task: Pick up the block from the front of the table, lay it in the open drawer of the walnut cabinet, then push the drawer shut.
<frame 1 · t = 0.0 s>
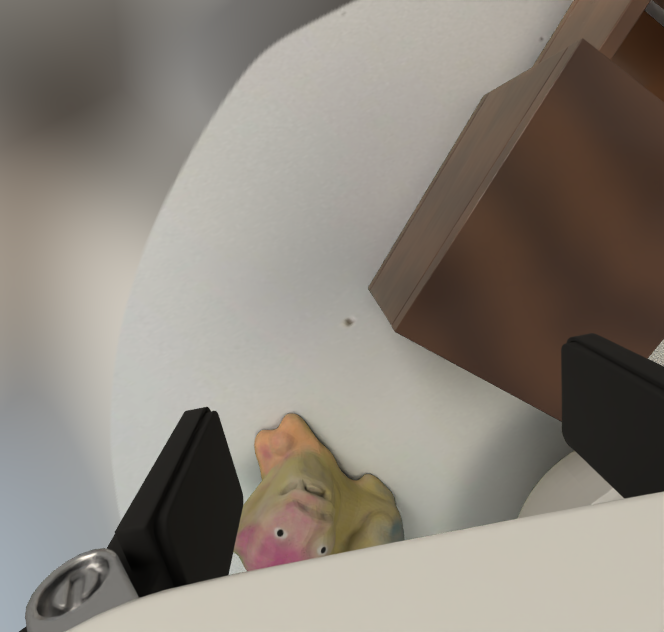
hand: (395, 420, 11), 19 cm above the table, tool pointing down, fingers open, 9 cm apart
bowl: (601, 499, 36), on the table
sculpture: (321, 481, 34), on the table
cabinet: (494, 242, 29), on the table
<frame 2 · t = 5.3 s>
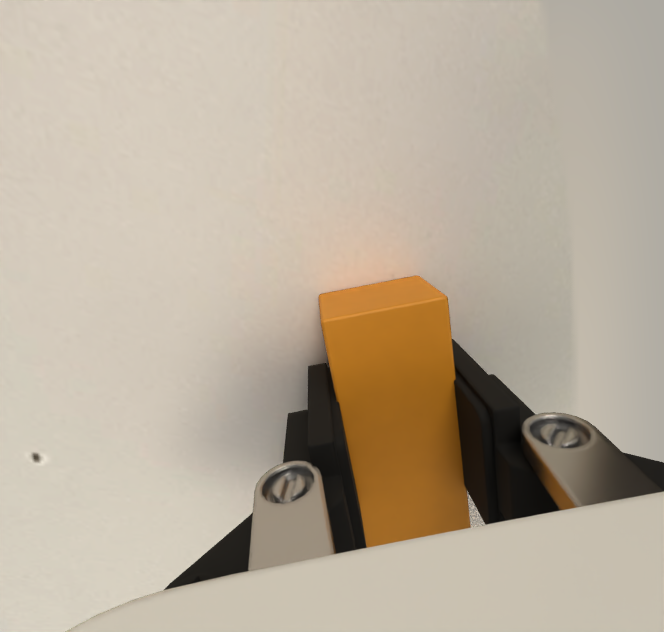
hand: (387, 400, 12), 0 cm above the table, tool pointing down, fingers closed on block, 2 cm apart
block: (386, 396, 12), on the table, touching gripper
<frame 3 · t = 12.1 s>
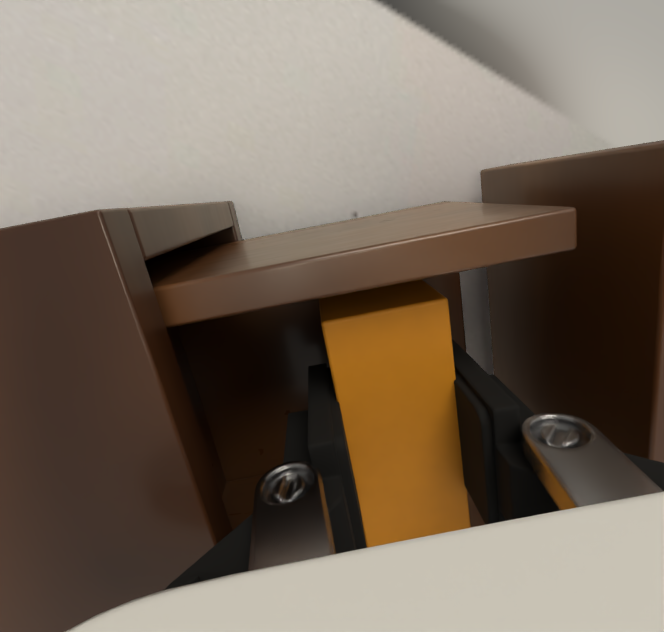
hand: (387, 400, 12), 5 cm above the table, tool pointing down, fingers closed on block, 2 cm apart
drawer: (443, 380, 12), point 5 cm above the table, slide at 9.0 cm
cabinet: (101, 387, 17), on the table
block: (386, 398, 12), point 5 cm above the table, touching gripper
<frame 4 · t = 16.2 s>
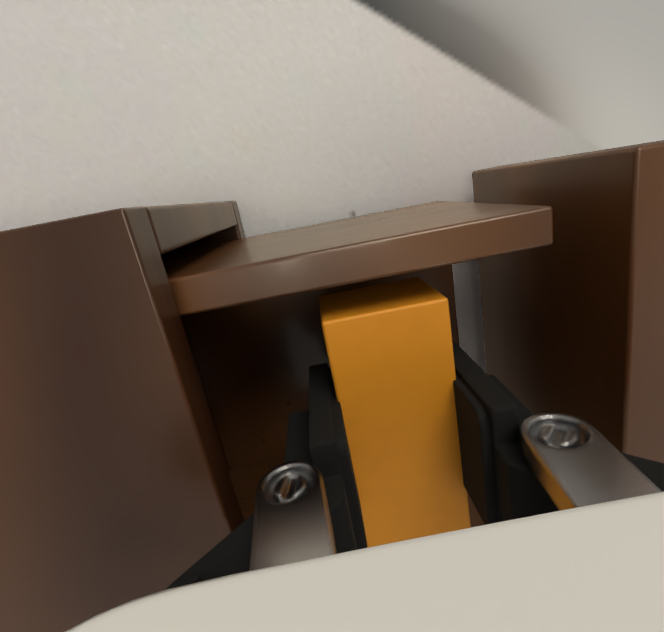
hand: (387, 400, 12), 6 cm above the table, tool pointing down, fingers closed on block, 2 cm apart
drawer: (436, 370, 13), point 5 cm above the table, slide at 9.0 cm
cabinet: (109, 379, 18), on the table
block: (386, 398, 12), point 6 cm above the table, touching gripper
when the fingers open (8 cm above the table, at t = 19.6 s): block drops 5 cm, resting on drawer.
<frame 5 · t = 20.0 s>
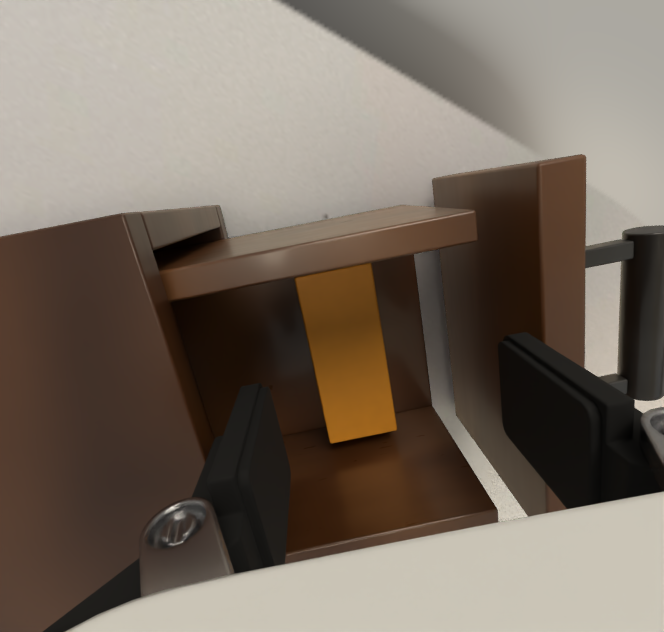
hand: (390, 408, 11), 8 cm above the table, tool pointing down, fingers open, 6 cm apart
drawer: (398, 353, 15), point 5 cm above the table, slide at 9.1 cm, touching gripper, block
cabinet: (103, 369, 19), on the table
block: (343, 338, 17), point 2 cm above the table, touching drawer
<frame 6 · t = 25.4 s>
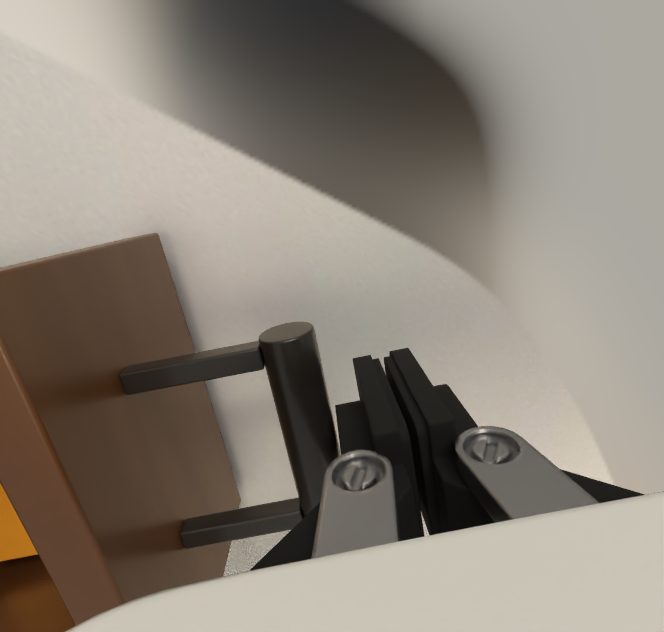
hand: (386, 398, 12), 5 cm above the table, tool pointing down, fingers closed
drawer: (26, 468, 12), point 5 cm above the table, slide at 7.2 cm, touching block
block: (31, 427, 14), point 2 cm above the table, touching drawer
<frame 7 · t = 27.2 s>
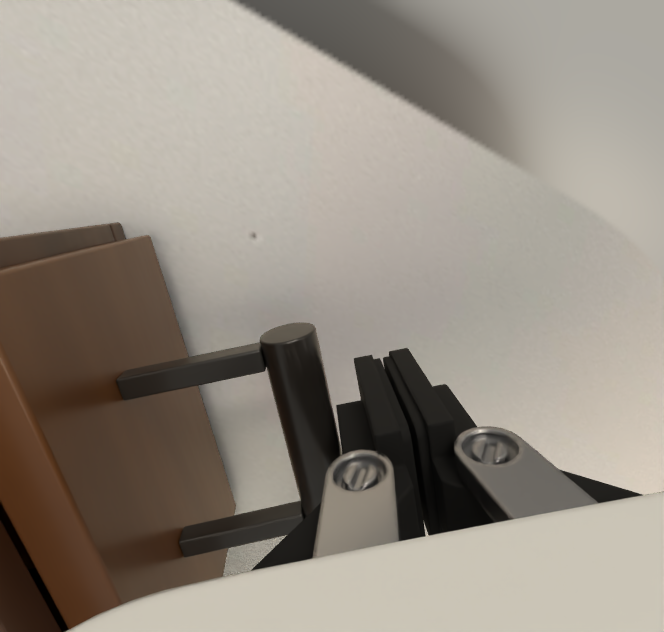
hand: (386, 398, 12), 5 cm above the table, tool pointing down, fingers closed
drawer: (14, 479, 11), point 5 cm above the table, slide at 0.0 cm, touching cabinet, gripper, block
block: (17, 437, 14), point 2 cm above the table, touching drawer
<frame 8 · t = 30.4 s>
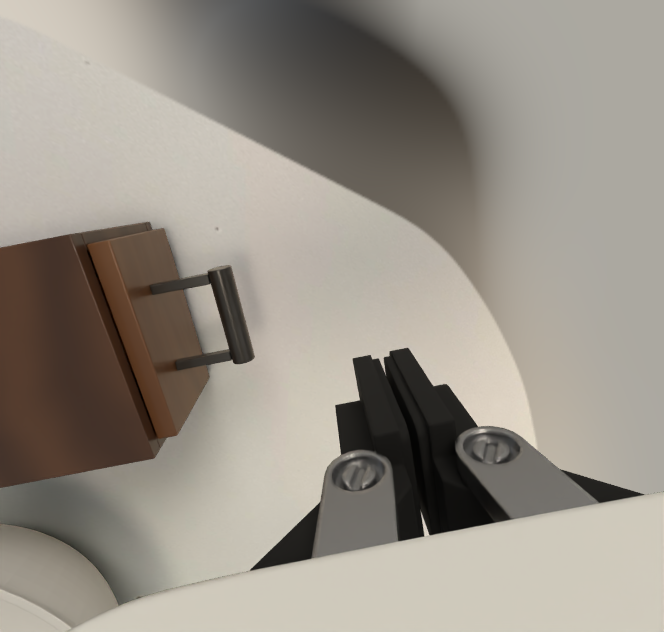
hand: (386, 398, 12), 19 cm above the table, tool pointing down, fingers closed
bowl: (26, 580, 37), on the table
drawer: (103, 336, 25), point 5 cm above the table, slide at 0.0 cm, touching cabinet, block
cabinet: (81, 324, 30), on the table
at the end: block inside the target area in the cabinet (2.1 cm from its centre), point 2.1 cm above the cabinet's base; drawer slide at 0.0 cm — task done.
